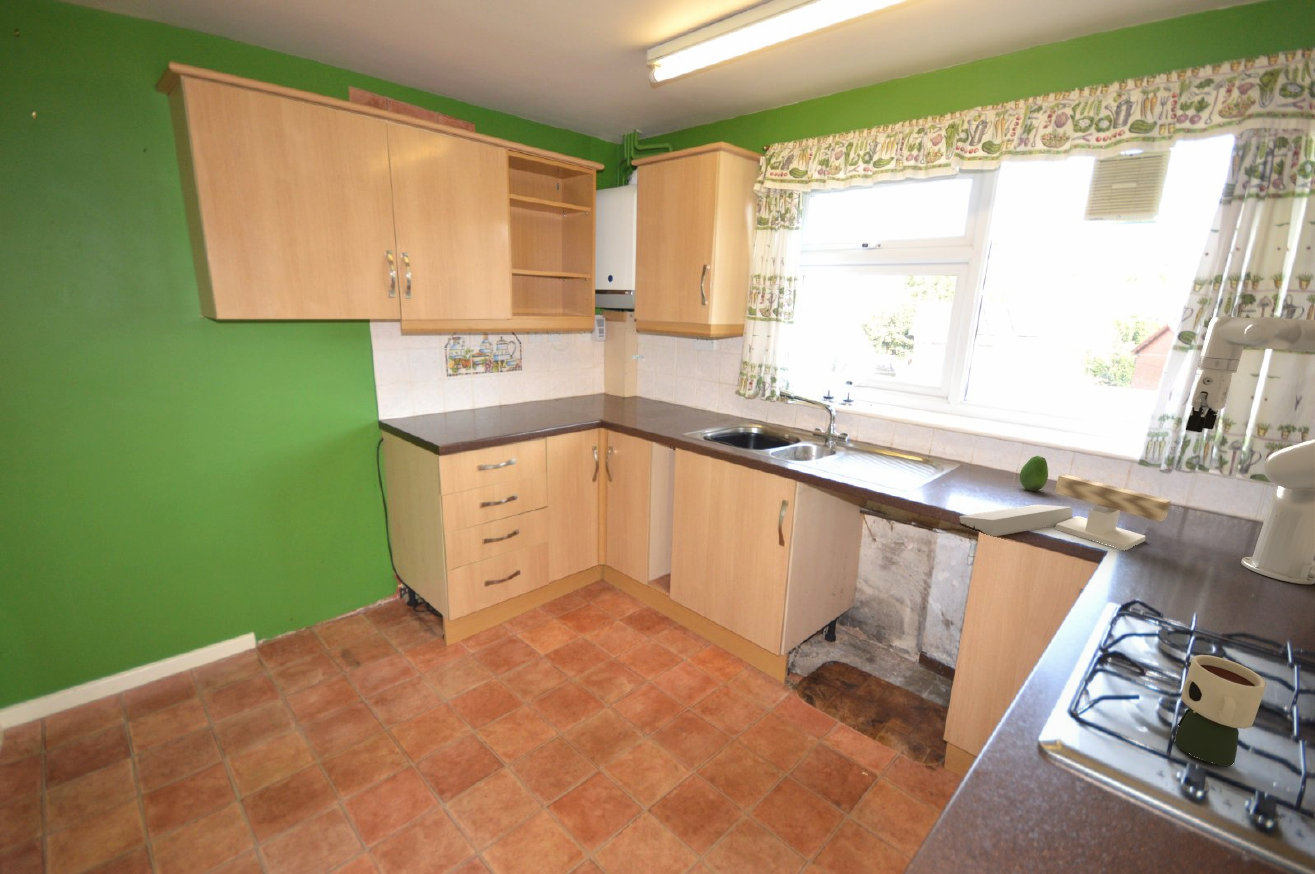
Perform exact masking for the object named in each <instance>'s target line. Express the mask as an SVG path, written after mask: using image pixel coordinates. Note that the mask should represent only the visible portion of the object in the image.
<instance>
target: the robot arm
mask: <svg viewBox="0 0 1315 874" xmlns="http://www.w3.org/2000/svg"><path fill="white" fill-rule="evenodd" d="M1202 345H1203V346H1202V349H1201V353H1200V356H1199V360H1198V363H1197V367H1196V370H1198V371H1200V374H1199V376H1198V379H1197V382H1196V385H1195V389H1194V391H1193V395H1192V399H1191V404H1190V405H1191V406H1192V408H1191V410H1190V413H1189V415H1188V419H1187V422H1186V426H1185V430H1186V431H1188V432H1193V433H1194V432H1195V433H1202V432H1203V430H1204V429H1205V430H1213V429H1214V427H1215V424H1216V420H1217V417H1218V414H1219V410H1222V409H1224V408H1225V407H1226V404H1227V400H1228V395H1229V392H1230V391H1229V390H1230V386H1231V382H1232V376H1233V375H1232V374H1233V373H1234V374H1237V373H1238V372H1237V370H1238V367H1239V365H1240V361H1241V357H1242V355H1243V351H1244V347H1245V348H1249V349H1251V348H1252V349H1257V350H1258V349H1260V350H1265V349H1266V350H1280V351H1281V350H1284V351H1295V352H1296V351H1298V352H1311V353H1315V319H1302V318H1299V319H1298V318H1287V317H1286V318H1283V317H1274V316H1272V317H1269V316H1260V317H1259V316H1258V317H1257V316H1256V317H1241V316H1225V315H1224V316H1220V315H1219V316H1215V317H1213V318H1211V319H1210V321H1209V324H1208V327H1207V331H1206V334H1205V338H1204V342H1203V344H1202ZM1262 467H1263V469H1262V470H1263V474H1264V476H1265V477H1266V479H1267V480H1268V481H1269V482H1271V483H1272V484H1274V485H1275V486H1276V488H1275V490H1274V492H1273V494H1272V496H1271V500H1270V503H1269V505H1268V509H1267V511H1266V515H1265V517H1264V521H1263V523H1262V526H1261V530H1260V533H1259V536H1258V539H1257V542H1256V545H1255V547H1254V551H1253V554H1252V556H1245V557H1242V558H1241V565H1242V566H1243V567H1244V568H1246V569H1248V570H1250V571H1253V572H1255V573H1257V574H1260V575H1261V576H1266V577H1268V578H1272V579H1275V580H1280V581H1284V582H1286V583H1287V582H1288V583H1292V584H1297V585H1298V584H1299V585H1313V584H1315V560H1314V559H1315V438H1312V439H1309V440H1305V441H1302V442H1299V443H1296V444H1293V445H1292V444H1291V445H1290V446H1286V447H1283V448H1280V449H1278V450H1275V451H1274V452H1272V453H1270V455H1268V456H1267V458H1265V461H1264V462H1263V465H1262Z"/></svg>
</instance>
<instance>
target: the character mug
mask: <svg viewBox="0 0 1315 874" xmlns="http://www.w3.org/2000/svg"><path fill="white" fill-rule="evenodd" d="M1266 687H1267V681H1266V680H1265V679H1264V678H1263V677H1262V676H1261V675H1259V674H1258V673H1256V672H1254V670H1252V669H1250V668H1248V667H1246V666H1243V665H1242V664H1239V663H1237V662H1235V661H1232V660H1229V659H1226V658H1224V657H1219V656H1214V655H1208V654H1207V655H1206V654H1198V655H1194V657H1192V660H1191V663H1190V665H1189V669H1188V673H1187V674H1186V677H1185V681H1184V684H1183V687H1182V690H1181V701H1182V702H1183V703H1184V704H1185V705H1186V706H1187V707H1188V708H1187V709H1186V710H1185V711H1184V713H1183V714H1182V717H1181V718H1180V720H1179V721H1178V723H1177V725H1179V726H1180V727H1179V729H1178V731H1177V734H1175V735H1176V741H1175V743H1174V744H1175V746H1176V747H1178V748H1179V749H1180V750H1181V749H1182V750H1183V751H1182V750H1181V751H1182V752H1184V751H1185V752H1187V753H1190V754H1191V755H1192V756H1195V757H1198V758H1200V759H1203V760H1205V761H1204V762H1206V761H1207V763H1209V762H1213V763H1215V764H1214V765H1216V764H1219V765H1218V766H1220V765H1223V766H1222V767H1229V766H1230V767H1231V765H1232V764H1233V763H1234V764H1235V762H1236V756H1237V751H1238V742H1239V735H1240V732H1239V729H1244V730H1245V729H1248V728H1252V725H1254V721H1255V719H1256V716H1257V713H1258V712H1259V711H1258V710H1259V707H1260V705H1261V703H1262V701H1263V700H1262V699H1263V697H1264V694H1265V691H1266ZM1185 752H1184V753H1185ZM1187 753H1186V754H1187ZM1192 756H1191V757H1192ZM1200 759H1199V760H1200ZM1203 760H1202V761H1203ZM1213 763H1212V764H1213ZM1234 764H1233V765H1234ZM1233 765H1232V766H1233Z"/></svg>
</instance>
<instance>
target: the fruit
mask: <svg viewBox="0 0 1315 874" xmlns="http://www.w3.org/2000/svg"><path fill="white" fill-rule="evenodd" d="M1048 478H1049V467H1048V462H1047V460H1046V457H1043V456H1039V455H1035V456H1032V457H1030V458H1029V460H1028V461H1027V462H1026V463H1025V464H1024V465H1023V466H1022V468H1021V469H1020V472H1019V481H1020V483H1021V485H1022V487H1023V488H1025V489H1026V490H1027V491H1032V492H1036V491H1040V490H1041V489H1043V488H1044V487H1045V485H1046V484H1047V482H1048Z"/></svg>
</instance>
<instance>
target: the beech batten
mask: <svg viewBox="0 0 1315 874" xmlns="http://www.w3.org/2000/svg"><path fill="white" fill-rule="evenodd" d="M1054 494H1058V495H1062V496H1065V497H1070V498H1074V499H1076V500H1081V501H1084V502H1088V503H1091V504H1094V505H1095V504H1096V505H1102V506H1105V507H1109V508H1112V509H1116V510H1120V512H1123V513H1128V514H1131V515H1135V516H1138V517H1142V518H1146V519H1148V520H1153V521H1156V522H1163V521H1164V520H1166V519H1167V516H1168V513H1169V509H1170V505H1171V503H1172V500H1171V499H1166V498H1162V497H1159V496H1154V495H1151V494H1146V493H1141V492H1138V491H1134V490H1130V489H1125V488H1122V487H1118V486H1114V485H1110V484H1105V483H1102V482H1098V481H1094V480H1089V479H1086V478H1081V477H1078V476H1074V475H1070V474H1066V473H1063V474H1061V475H1058V476H1057V481H1056V485H1055V490H1054Z"/></svg>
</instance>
